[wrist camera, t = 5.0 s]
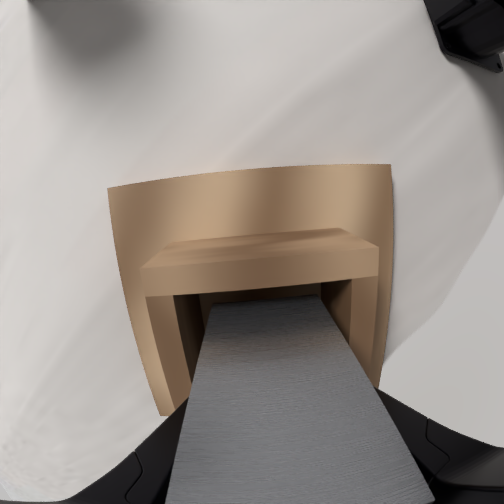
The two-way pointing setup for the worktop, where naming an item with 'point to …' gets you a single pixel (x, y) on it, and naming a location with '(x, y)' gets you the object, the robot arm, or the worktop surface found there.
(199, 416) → the grey rectangular prism
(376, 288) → the wooden socket plate
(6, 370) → the worktop surface
